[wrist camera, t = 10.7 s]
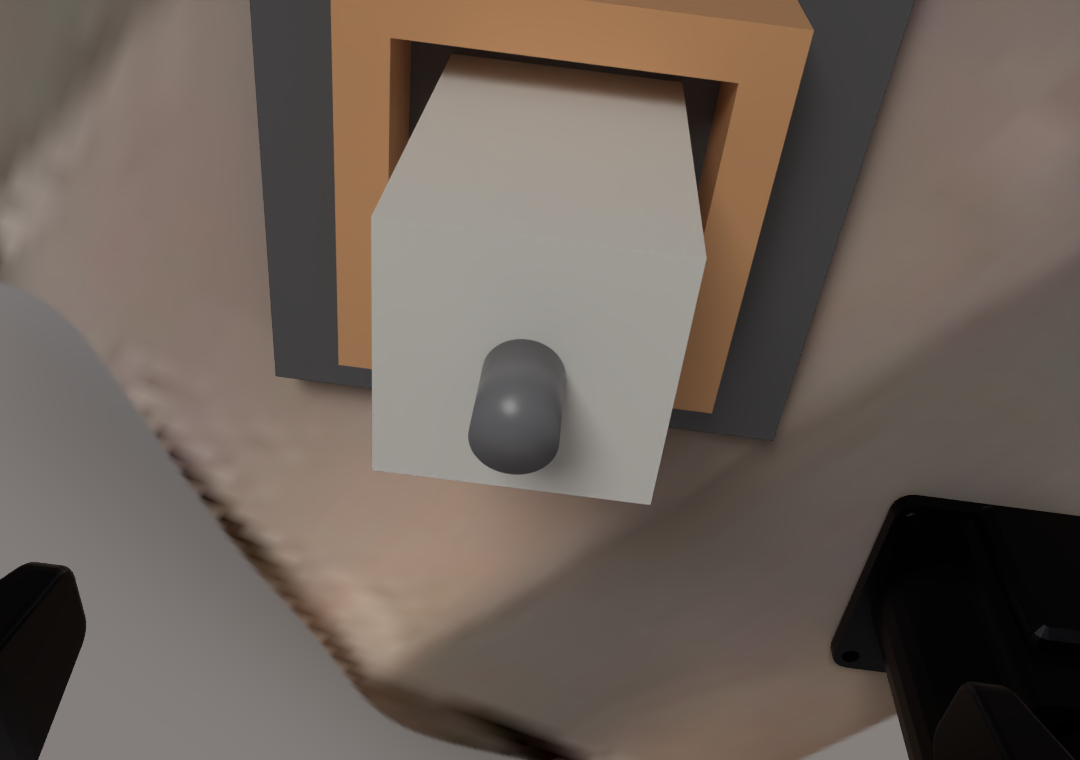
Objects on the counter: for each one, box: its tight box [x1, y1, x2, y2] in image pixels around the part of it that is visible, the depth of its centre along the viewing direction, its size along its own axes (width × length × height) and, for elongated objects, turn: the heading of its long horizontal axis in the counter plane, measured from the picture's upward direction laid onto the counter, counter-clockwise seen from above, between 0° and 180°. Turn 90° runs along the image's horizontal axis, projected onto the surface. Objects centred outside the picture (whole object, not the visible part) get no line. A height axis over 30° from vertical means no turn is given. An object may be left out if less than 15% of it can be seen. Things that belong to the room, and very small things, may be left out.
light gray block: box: [371, 54, 707, 505], centre depth 16 cm, size 4×4×8 cm
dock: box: [250, 0, 914, 441], centre depth 19 cm, size 12×12×3 cm
